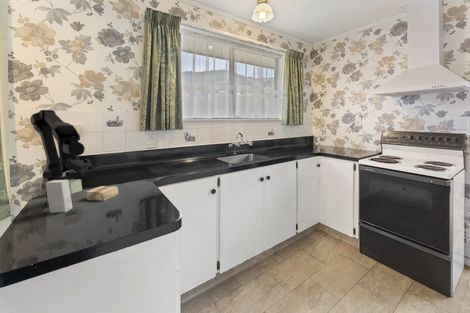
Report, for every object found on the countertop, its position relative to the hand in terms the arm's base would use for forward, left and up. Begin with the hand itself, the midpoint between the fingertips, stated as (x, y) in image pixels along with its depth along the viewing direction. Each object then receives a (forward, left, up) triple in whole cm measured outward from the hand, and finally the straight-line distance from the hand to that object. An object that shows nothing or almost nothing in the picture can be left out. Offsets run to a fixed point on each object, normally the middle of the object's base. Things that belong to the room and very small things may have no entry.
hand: (72, 189), depth 100 cm
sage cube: (0, 0, -1) cm, 1 cm away
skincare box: (+6, -10, -5) cm, 13 cm away
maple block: (+9, +7, -6) cm, 13 cm away
